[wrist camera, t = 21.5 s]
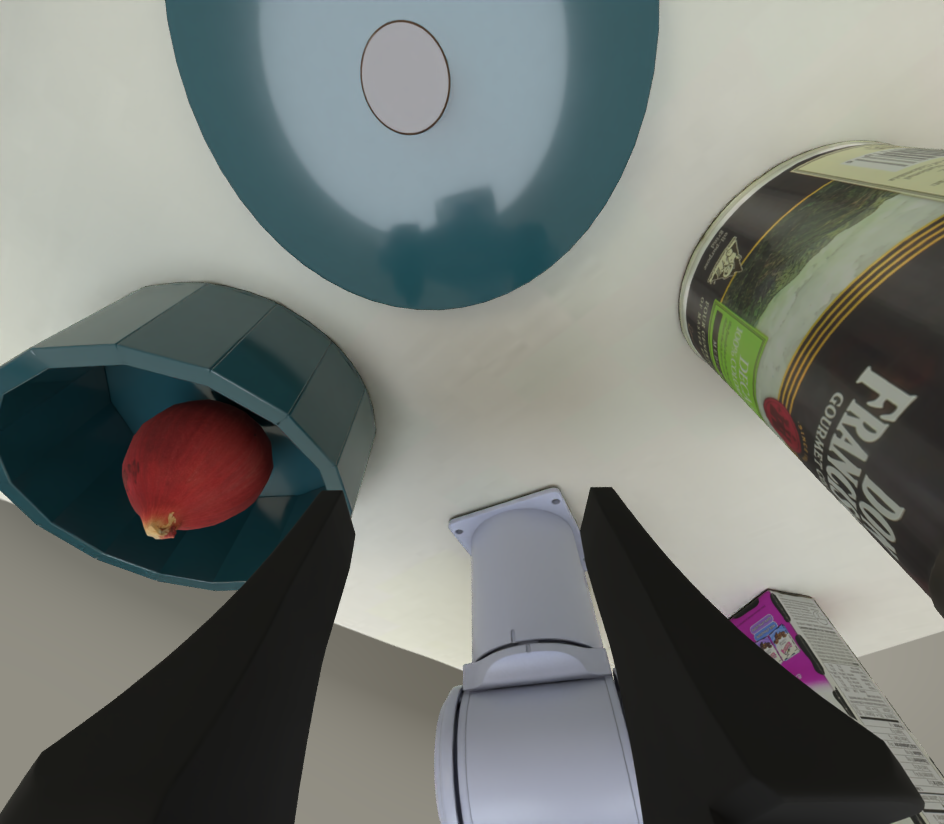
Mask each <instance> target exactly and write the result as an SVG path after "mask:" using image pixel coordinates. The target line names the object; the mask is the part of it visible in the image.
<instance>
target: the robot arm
mask: <svg viewBox="0 0 944 824" xmlns="http://www.w3.org/2000/svg"><path fill="white" fill-rule="evenodd" d="M554 499H556V500H554ZM449 529H450V531H451V532H452V533H453V534H454V536H455V537H456V538H457V539H458V541H459V542H460V543H461V544H462V546H463V547H464V548H465V549H466V551H467V552H468V553H469V554H470V556H471V559H472V663H469V664H464V665H463V685H459V686H456V687H454V688H453V689H452V690H451V691H450V693H449V695H448V697H447V699H446V701H445V702H444V704H443V706H442V708H441V711H440V714H439V718H438V723H437V729H436V739H435V757H434V771H435V772H434V774H435V791H436V801H437V808H438V814H439V819H440V823H441V824H891V823H894V822H897V821H900V820H903V819H906V818H909V817H911V816H914V815H916V814H918V813H920V812H921V811H922V810H924V807H925V802H924V800H923V798H922V797H921V795H920V794H919V792H918V790H917V789H916V787H915V786H914V784H913V783H912V781H911V780H910V778H909V776H908V775H907V773H906V772H905V770H904V769H903V767H902V766H901V764H900V763H899V761H898V760H897V759H896V757H895V756H894V754H893V753H892V752H891V750H890V749H889V747H888V746H887V745H886V743H885V742H884V741H883V740H882V739H880V738H879V737H878V736H876V735H875V734H873V733H872V732H871V731H869V730H868V729H866V728H865V727H864V726H862V725H861V724H859V723H858V722H856V721H855V720H854V719H852V718H851V717H849V716H848V715H847V714H845V713H844V712H842V711H841V710H840V709H838V708H837V707H835V706H834V705H833V704H831V703H830V702H828V701H827V700H826V699H824V698H823V697H822V696H820V695H819V694H818V693H816V692H815V691H814V690H812V689H811V688H810V687H809V686H807V685H806V684H805V683H803V682H802V681H801V680H799V679H798V678H797V677H796V676H794V675H793V674H792V673H790V672H789V671H788V670H787V669H785V668H784V667H783V666H782V665H781V664H779V663H778V662H777V661H776V660H775V659H773V658H772V657H771V656H770V655H769V654H768V653H766V652H765V651H764V650H763V649H762V648H760V647H759V646H758V645H757V644H756V643H754V642H753V641H752V640H751V639H750V638H748V637H747V636H746V635H745V634H744V633H743V632H742V631H741V630H739V629H738V628H737V627H736V626H735V625H734V624H733V623H732V622H731V621H730V620H728V619H727V618H726V617H725V616H724V615H723V614H722V613H721V612H720V611H719V610H718V609H717V608H716V607H715V606H714V605H713V604H712V603H711V602H710V601H709V600H708V599H707V598H706V597H705V596H704V595H703V594H702V593H701V592H700V591H699V590H698V589H697V588H696V587H695V586H694V585H693V584H692V583H691V582H690V581H689V580H688V579H687V578H686V577H685V576H684V575H683V573H682V572H681V571H680V570H679V569H678V568H677V567H676V566H675V565H674V564H673V562H672V561H671V560H670V559H669V558H668V557H667V556H666V554H665V553H664V552H663V551H662V550H661V549H660V547H659V546H658V545H657V544H656V543H655V541H654V540H653V539H652V538H651V537H650V535H649V534H648V533H647V532H646V531H645V529H644V528H643V527H642V526H641V524H640V523H639V522H638V520H637V519H636V518H635V517H634V515H633V514H632V513H631V511H630V510H629V509H628V508H627V506H626V505H625V504H624V502H623V501H622V500H621V498H620V497H619V496H618V494H617V493H616V492H615V490H614V489H613V488H612V487H590V492H589V496H588V500H587V504H586V508H585V513H584V517H583V521H582V525H581V530H580V529H579V527H578V525H577V523H576V522H575V520H574V518H573V516H572V514H571V512H570V510H569V508H568V506H567V504H566V502H565V500H564V498H563V496H562V494H561V492H560V490H559V489H557V488H549V489H545V490H542V491H539V492H536V493H533V494H530V495H527V496H524V497H520V498H517V499H514V500H511V501H508V502H505V503H502V504H499V505H495V506H492V507H489V508H486V509H483V510H480V511H477V512H474V513H470V514H467V515H464V516H461V517H458V518H455V519H452V520H450V521H449ZM354 540H355V531H354V528H353V524H352V521H351V517H350V513H349V510H348V506H347V503H346V499H345V496H344V492H343V490H322V491H321V492H320V493H319V494H318V495H317V496H316V498H315V499H314V500H313V502H312V503H311V504H310V506H309V507H308V508H307V510H306V511H305V512H304V514H303V515H302V516H301V517H300V519H299V520H298V521H297V522H296V524H295V525H294V526H293V528H292V529H291V530H290V531H289V533H288V534H287V535H286V536H285V537H284V539H283V540H282V541H281V542H280V543H279V545H278V546H277V547H276V548H275V550H274V551H273V552H272V553H271V554H270V556H269V557H268V558H267V559H266V560H265V561H264V562H263V563H262V565H261V566H260V567H259V568H258V569H257V570H256V571H255V572H254V573H253V575H252V576H251V577H250V578H249V579H248V580H247V581H246V582H245V583H244V585H243V586H242V587H241V588H240V589H239V590H238V591H237V592H236V593H235V594H234V595H233V596H232V597H231V598H230V599H229V600H228V601H227V602H226V603H225V604H224V605H223V606H222V607H221V608H220V609H219V610H218V611H217V612H216V613H215V614H214V615H213V616H212V617H211V618H210V619H209V620H208V621H207V622H206V623H204V624H203V625H202V626H201V627H200V628H199V629H198V630H197V631H196V632H195V633H193V634H192V635H191V636H190V637H189V638H188V639H187V640H186V641H185V642H184V643H182V644H181V645H180V646H179V647H178V648H177V649H176V650H175V651H173V652H172V653H171V654H170V655H169V656H168V657H166V658H165V659H164V660H163V661H162V662H160V663H159V664H158V665H157V666H155V667H154V668H153V669H152V670H150V671H149V672H148V673H147V674H146V675H144V676H143V677H142V678H141V679H139V680H138V681H137V682H136V683H134V684H133V685H132V686H131V687H130V688H128V689H127V690H126V691H125V692H123V693H122V694H121V695H120V696H118V697H117V698H116V699H114V700H113V701H112V702H110V703H109V704H108V705H106V706H105V707H104V708H102V709H101V710H100V711H98V712H97V713H95V714H94V715H93V716H91V717H90V718H89V719H87V720H86V721H85V722H83V723H82V724H81V725H79V726H78V727H76V728H75V729H74V730H72V731H71V732H69V733H68V734H67V735H65V736H64V737H63V738H61V739H60V740H59V741H57V742H56V743H54V744H53V745H51V746H50V747H49V748H47V749H46V750H44V751H43V752H42V753H41V754H40V756H39V757H38V759H37V760H36V761H35V763H34V764H33V765H32V767H31V769H30V770H29V771H28V773H27V774H26V776H25V777H24V779H23V780H22V781H21V783H20V785H19V786H18V788H17V789H16V791H15V792H14V794H13V795H12V797H11V798H10V800H9V801H8V803H7V804H6V806H5V807H4V809H3V810H2V812H1V813H0V824H294V822H295V815H296V808H297V801H298V793H299V787H300V781H301V775H302V769H303V763H304V757H305V751H306V745H307V739H308V734H309V728H310V723H311V717H312V712H313V706H314V701H315V696H316V691H317V686H318V681H319V677H320V672H321V667H322V662H323V658H324V654H325V650H326V647H327V643H328V640H329V636H330V633H331V630H332V626H333V623H334V620H335V616H336V613H337V610H338V606H339V603H340V600H341V596H342V593H343V589H344V586H345V583H346V579H347V576H348V572H349V569H350V563H351V558H352V552H353V546H354ZM585 571H588V574H589V578H590V581H591V584H592V588H593V591H594V594H595V598H596V601H597V604H598V608H599V611H600V614H601V617H602V621H603V624H604V627H605V631H606V634H607V637H608V640H609V644H610V648H611V652H612V655H613V659H614V664H615V668H613V677H614V680H613V677H612V672H611V668H610V664H609V660H608V657H607V653H606V649H605V648H603V644H602V639H601V635H600V632H599V628H598V624H597V620H596V616H595V612H594V608H593V604H592V600H591V596H590V592H589V588H588V584H587V580H586V576H585Z"/></svg>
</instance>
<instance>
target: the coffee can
mask: <svg viewBox="0 0 944 824" xmlns="http://www.w3.org/2000/svg"><path fill="white" fill-rule="evenodd" d="M679 315H680V323H681V328H682V331H683V334H684V336H685V338H686V340H687V342H688V344H689V345H690V347H691V348H692V349H693V351H694V352H695V353H696V354H697V355H698V356H699V357H700V358H702V359H703V360H704V361H705V362H707V363H708V364H709V365H710V366H711V367H712V368H713V369H714V370H715V371H716V372H717V373H718V374H719V375H720V376H721V378H722V379H723V380H724V381H725V382H726V383H728V385H729V386H730V387H731V388H732V389H733V390H734V391H735V392H736V393H737V394H738V395H739V396H740V397H741V398H742V399H743V400H744V401H745V402H746V403H747V405H748V406H749V407H750V408H751V409H752V410H753V411H754V412H755V413H756V414H757V415H758V416H759V417H760V418H761V419H762V420H763V421H764V422H765V423H766V425H767V426H768V427H769V428H770V429H771V430H772V431H773V432H774V433H775V434H776V435H777V436H778V437H779V438H780V439H781V440H782V441H783V442H784V443H785V445H786V446H787V447H788V448H789V449H790V450H791V451H792V452H793V453H794V454H795V455H796V456H797V457H798V458H799V459H800V460H801V461H802V462H803V464H804V465H805V466H806V467H807V468H808V469H809V470H810V471H811V472H812V473H813V474H814V475H815V477H816V478H817V479H818V480H819V481H820V482H821V483H822V484H823V485H824V486H825V487H826V488H827V489H828V491H830V492H831V493H832V494H833V495H834V496H835V497H836V499H837V500H838V501H839V502H840V503H841V504H842V505H843V506H844V507H845V508H846V509H847V510H848V511H849V512H850V513H851V514H852V515H853V516H854V517H855V519H856V520H857V521H858V522H859V523H860V524H861V525H862V526H863V527H864V528H865V529H866V530H867V531H868V532H869V533H870V534H871V535H872V536H873V538H874V539H876V541H877V542H878V543H879V544H880V545H881V546H882V547H883V548H884V549H885V550H886V551H887V552H888V553H889V554H890V556H891V557H892V558H893V559H894V560H895V561H896V562H897V563H898V564H899V565H900V566H901V567H902V568H903V569H904V571H905V572H906V573H907V574H908V575H909V576H910V577H911V578H912V579H913V580H914V581H915V582H916V583H917V584H918V585H919V586H920V587H921V588H922V589H923V590H924V591H925V593H926V594H927V595H928V596H929V597H930V598H931V599H932V601H933V604H934V607H935V608H936V610H937V611H938V612H939V613H940V615H941V616H942V617H943V618H944V150H941V149H925V148H912V147H900V146H893V145H891V144H885V143H881V142H876V141H848V142H841V143H836V144H832V145H827V146H823V147H819V148H817V149H814V150H811V151H808V152H806V153H803V154H801V155H798V156H796V157H794V158H792V159H790V160H788V161H786V162H783V163H781V164H780V165H778V166H776V167H775V168H773V169H772V170H770V171H769V172H768V173H766V174H765V175H764V176H762V177H761V178H759V179H758V180H756V181H755V182H753V183H752V184H751V185H750V186H748V187H747V188H746V189H745V190H744V191H743V192H741V193H740V194H739V195H738V196H737V197H736V198H735V199H734V200H733V201H732V202H731V203H730V204H729V205H728V206H727V207H726V208H725V209H724V210H723V211H722V212H721V214H720V215H719V216H718V217H717V218H716V219H715V221H714V222H713V223H712V225H711V226H710V227H709V229H708V230H707V232H706V233H705V235H704V236H703V238H702V239H701V241H700V242H699V244H698V246H697V247H696V249H695V251H694V253H693V255H692V257H691V259H690V262H689V264H688V267H687V270H686V272H685V276H684V279H683V282H682V287H681V292H680V299H679Z"/></svg>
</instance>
